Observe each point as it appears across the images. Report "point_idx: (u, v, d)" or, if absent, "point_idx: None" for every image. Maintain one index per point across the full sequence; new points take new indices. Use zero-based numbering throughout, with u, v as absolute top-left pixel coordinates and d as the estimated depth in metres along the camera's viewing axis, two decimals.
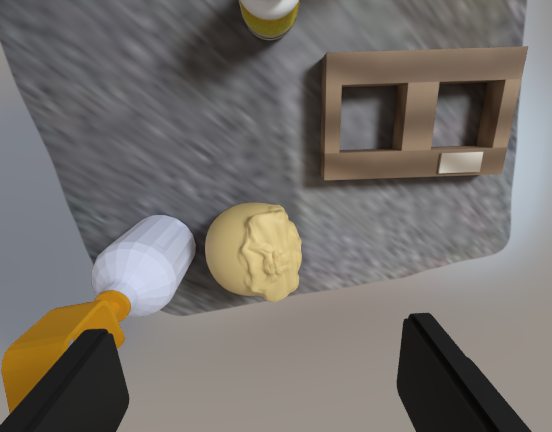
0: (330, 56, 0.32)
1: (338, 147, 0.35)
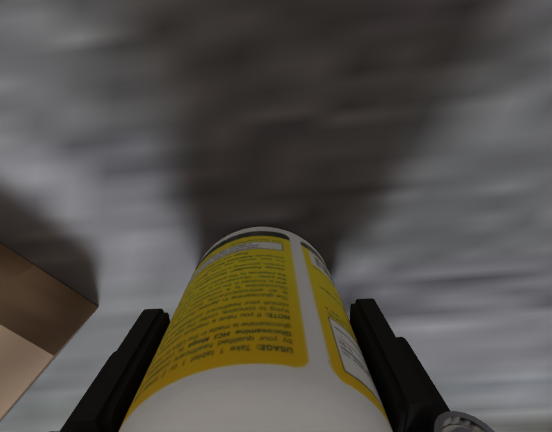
0: (39, 357, 0.11)
1: None
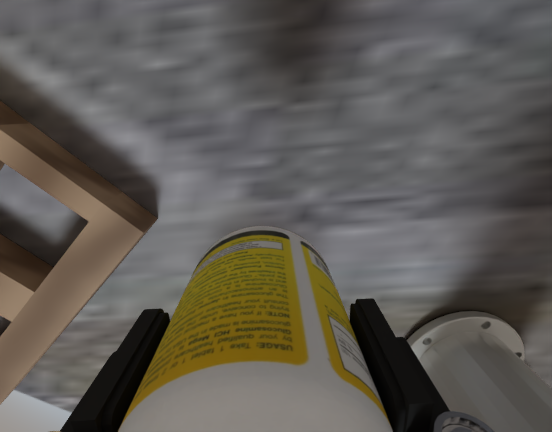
0: (135, 233, 0.21)
1: None
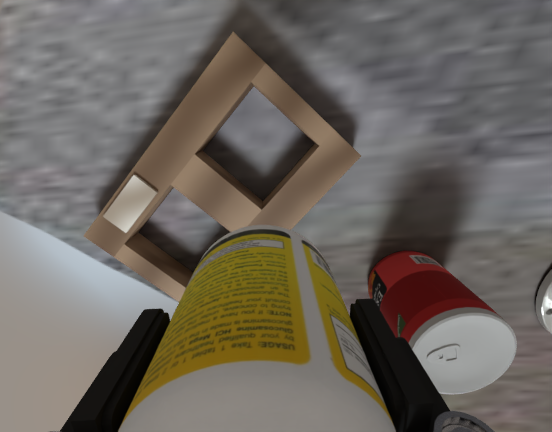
0: (354, 156, 0.25)
1: (258, 86, 0.23)
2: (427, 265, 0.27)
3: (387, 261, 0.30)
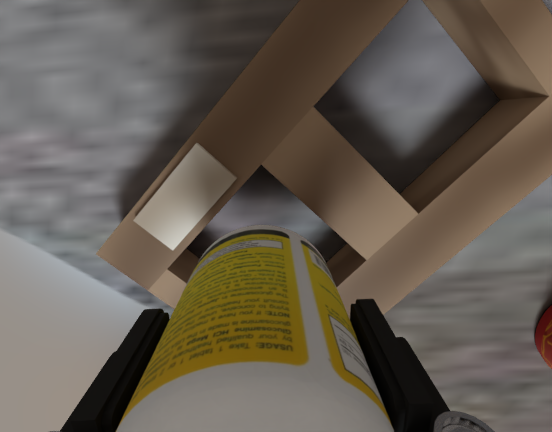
0: None
1: None
2: None
3: None
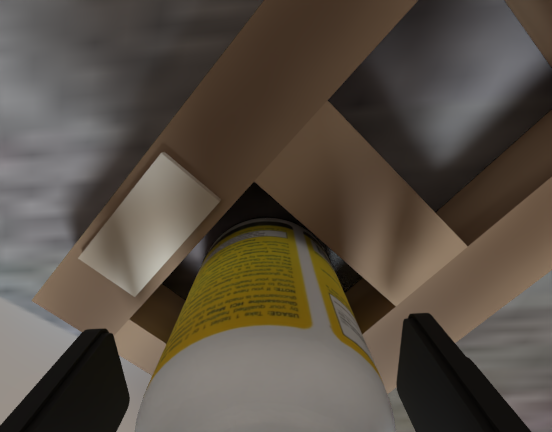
0: None
1: None
2: None
3: None
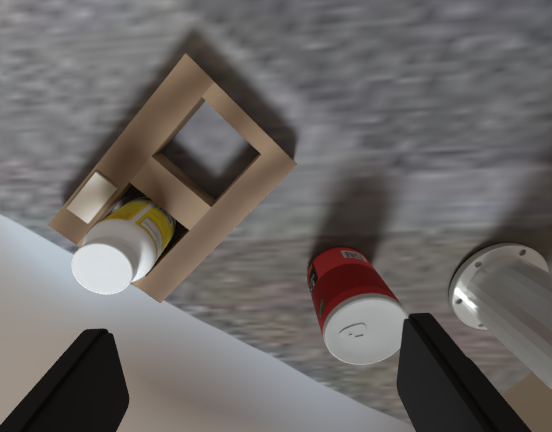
0: (291, 165, 0.29)
1: (208, 101, 0.27)
2: (352, 259, 0.32)
3: (322, 255, 0.35)
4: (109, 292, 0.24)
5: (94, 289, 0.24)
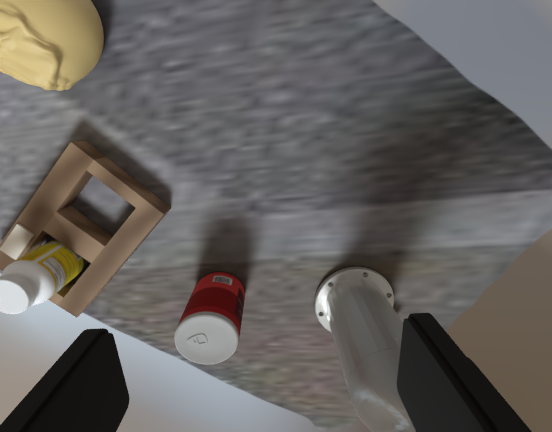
0: (159, 214, 0.40)
1: (91, 172, 0.38)
2: (216, 283, 0.42)
3: (202, 279, 0.45)
4: (14, 312, 0.35)
5: (3, 310, 0.34)
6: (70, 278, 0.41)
